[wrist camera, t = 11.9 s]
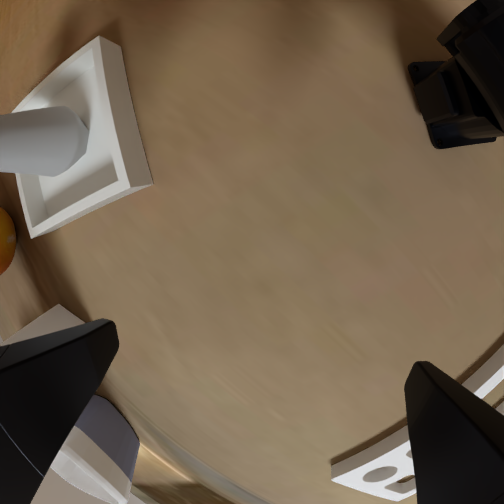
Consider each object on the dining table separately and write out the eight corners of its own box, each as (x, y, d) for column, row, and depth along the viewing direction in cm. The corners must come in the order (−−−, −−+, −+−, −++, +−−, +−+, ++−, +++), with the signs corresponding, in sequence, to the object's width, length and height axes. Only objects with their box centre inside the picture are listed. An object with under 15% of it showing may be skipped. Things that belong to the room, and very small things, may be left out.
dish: (120, 46, 17) (99, 35, 14) (153, 184, 20) (130, 187, 17) (30, 116, 20) (8, 115, 17) (53, 230, 23) (31, 238, 20)
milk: (59, 339, 28) (-56, 442, 7) (59, 302, 26) (-84, 408, 5) (96, 366, 27) (-16, 491, 6) (98, 330, 25) (-45, 468, 4)
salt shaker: (45, 153, 20) (-71, 168, 8) (71, 98, 18) (-53, 87, 6) (78, 186, 20) (-55, 218, 8) (107, 127, 18) (-39, 121, 6)
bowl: (112, 381, 28) (60, 444, 17) (167, 457, 31) (139, 515, 21) (46, 373, 31) (3, 414, 21) (96, 442, 35) (67, 484, 24)
